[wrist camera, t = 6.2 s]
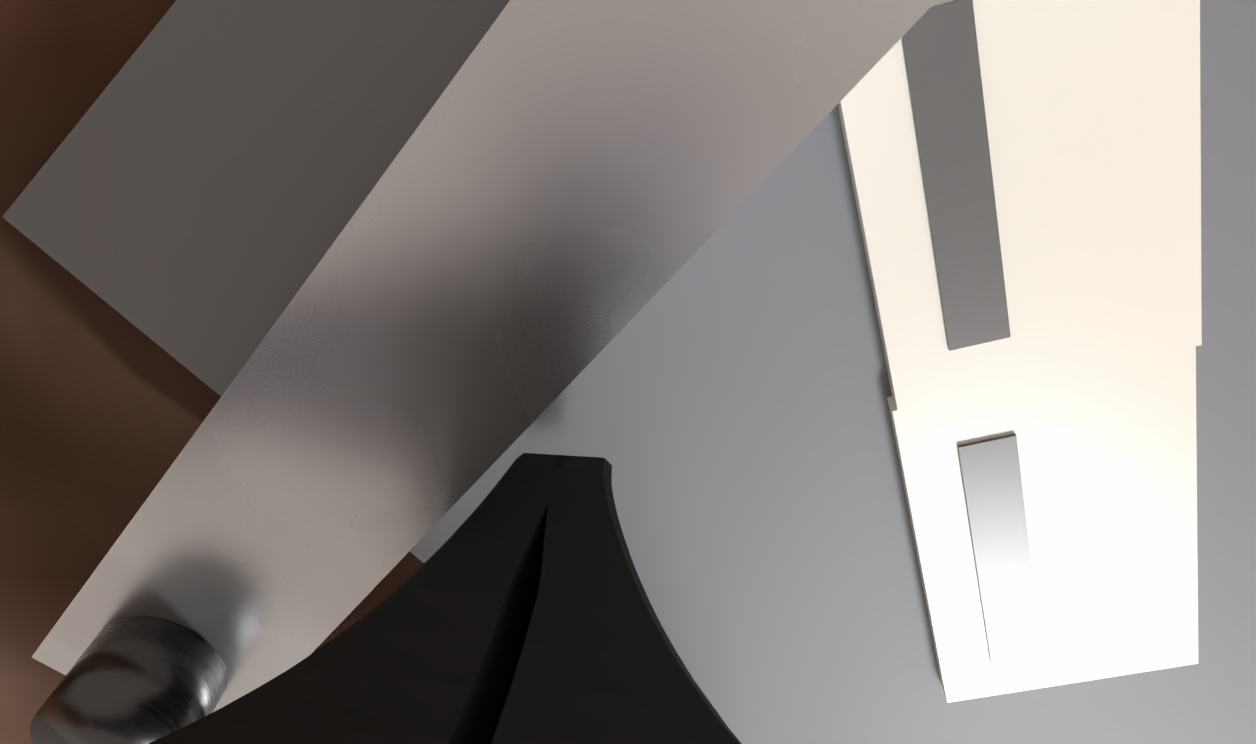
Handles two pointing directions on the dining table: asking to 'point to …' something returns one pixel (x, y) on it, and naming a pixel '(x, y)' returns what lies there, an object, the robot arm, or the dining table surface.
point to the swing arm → (445, 330)
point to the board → (665, 365)
